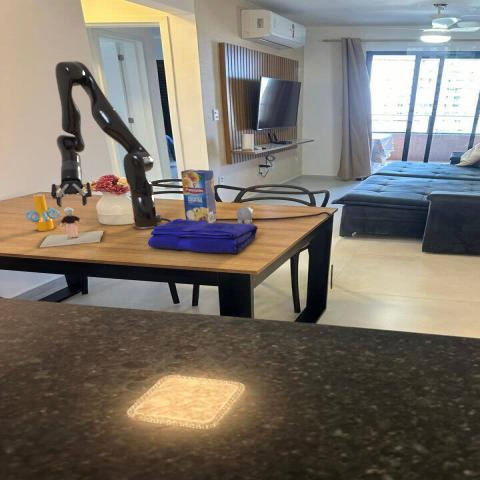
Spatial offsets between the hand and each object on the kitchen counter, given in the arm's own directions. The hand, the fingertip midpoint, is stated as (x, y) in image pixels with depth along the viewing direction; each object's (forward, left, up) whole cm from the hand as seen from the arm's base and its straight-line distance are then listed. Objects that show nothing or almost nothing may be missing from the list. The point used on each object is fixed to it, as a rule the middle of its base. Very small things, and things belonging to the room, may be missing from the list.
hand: (72, 205), depth 159 cm
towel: (-49, +33, -12) cm, 60 cm away
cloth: (0, +10, -12) cm, 15 cm away
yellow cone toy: (+13, -9, -12) cm, 20 cm away
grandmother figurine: (0, +10, -11) cm, 15 cm away
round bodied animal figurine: (-71, +10, -12) cm, 73 cm away
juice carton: (-51, +1, -12) cm, 52 cm away
